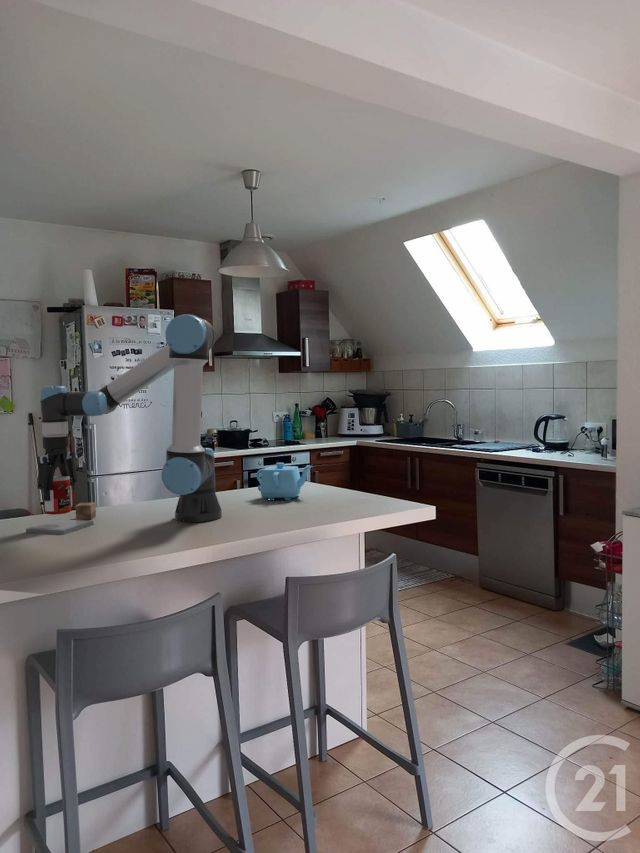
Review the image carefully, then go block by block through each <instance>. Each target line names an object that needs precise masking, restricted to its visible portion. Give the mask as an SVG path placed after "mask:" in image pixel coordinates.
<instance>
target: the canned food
mask: <svg viewBox="0 0 640 853" xmlns="http://www.w3.org/2000/svg"><path fill="white" fill-rule="evenodd" d="M47 486H48V485H47ZM51 490H53V498H54V511H45V510H44V512H45V514H46V515H63V514H68V513H71V512H72V506H71V489H70V477H69V476H62V475H54V478H53V482H52V486H51ZM43 502H44V504H43V505H44V506H45V501H44V500H43Z"/></svg>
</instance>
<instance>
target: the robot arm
mask: <svg viewBox="0 0 640 853" xmlns="http://www.w3.org/2000/svg"><path fill="white" fill-rule="evenodd" d="M215 332H216V331H215V329H214V326H213V325H212V324H211V323H210V322H209V321H208V320H207V319H204V318H201V317H199V316H197V315H194V314H180V315H177V316H175V317H174V318H172V319H171V320H170V321H169V322H168V324H167V326H166V329H165V335H164V336H165V341H166V345H165V346H163V347H162V348H160V349H158V351H156V352H154V353H153V354H151V355H150V356H148V357H147V358H145V359H143V360H142V361H141V362H139V363H138V364H136V365H134V366H133V367H131V368H130V369H129V370H126V371H125V372H124V373H123V374H121V375H119V376H118V377H117V378H115V379H114V380H112V381H111V382H109V383H108V384H106V385H105V386H103V387H102V388H99V389H98V390H96V391H95V390H94V391H93V390H91V391H67V388H66V386H64V385H48V386H47V385H46V386H44V385H43V386H42V387H41V388H40V398H39V399H40V400H39V402H40V411H41V412H40V414H41V430H42V431H41V432H42V436H43V437H42V449H44V450H45V452H44V455H43V456H42V455H41V456H38V457H37V462H38V470H37V471H38V472H37V474H38V475H37V490H40V491H42V492H43V493H42V494H43V502H44V501H45V505H44V512H45V511H54V498H53V490H51V486H52V482H53V478H54V476H55V472H56V470H57V468H58V470H59V471H60V476H69V477H70V489H71V507H73V486H75V485H76V483H77V482H78V481H77V480H78V478H77V473H76V472H77V471H76V467H75V460H74V459H75V452H72V451H68V450H67V449H68V448H69V444H70V443H69V440H70V439H69V436H68V435H69V424H68V422H69V421H68V417H97V416H98V417H99V416H103V415H108V414H111V413H113V412H114V411H115V410H116V409H117V407H119V406H120V405H121V404H122V403H124V402H125V401H127V400H129V399H130V398H131V397H133V396H134V395H137V394H139V392H140V391H141V392H142V390H144V389H146V388H147V387H149V386H150V385H152V384H153V383H155V382H156V381H157V380H159V379H161V378H162V377H163V376H166V375H167V374H168V373H170V372H171V371H173V386H172V387H173V390H172V391H173V392H172V422H171V426H172V427H171V444H170V445H169V446H168V447H167V448H166V450H165V451H166V456H165V458H166V459H165V463H164V464H163V467H162V469H161V475H160V476H161V482H162V483H163V485H164V487H165V488H166V489H167V490H168V491H169V492H171V493H172V494H175V495H179V496H178V500H177V504H176V508H175V511H174V518H175V519H174V520H176V521H178V522H180V523H181V522H182V523H183V522H184V523H199V522H200V523H202V522H208V521H214V520H217V519H220V518H222V515H223V513H222V508H221V505H220V502H219V499H218V496H217V494H216V473H215V472H216V471H215V465H216V464H215V460H216V459H215V458H216V457H215V451H214V449H213V448H211V447H203V446H202V444H201V433H202V405H203V404H202V400H203V397H202V396H203V371H204V370H203V369H204V366H205V365H206V363H208V362H209V351H211V349H212V348H213V346H214V345H215V341H216V333H215ZM47 485H48V486H47Z"/></svg>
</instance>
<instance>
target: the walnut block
mask: <svg viewBox="0 0 640 853" xmlns="http://www.w3.org/2000/svg"><path fill="white" fill-rule="evenodd" d="M74 507H75V520H85V521H93V520H94V519H95V518H96V517H97V514H96V512H97V511H96V508H97V507H96V502H79V503H78V504H76V505H75V506H74Z"/></svg>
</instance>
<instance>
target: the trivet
mask: <svg viewBox="0 0 640 853" xmlns="http://www.w3.org/2000/svg"><path fill="white" fill-rule="evenodd" d="M93 525H95V524H94V520H76V519H63V518H62V519H61V518H59V519H53V520H50V521H47V522H44V523H39V524H36V525H33V526H30V527H26V528H25V533H31V534H32V533H33V534H50V535H52V534H53V535H66V534H70V533H73V532H75V531H79V530H82V529H84V528H87V527H90V526H93Z"/></svg>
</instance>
